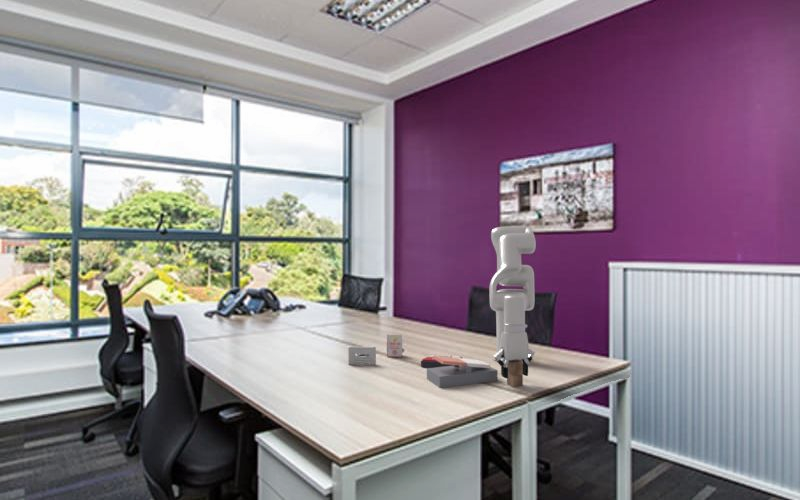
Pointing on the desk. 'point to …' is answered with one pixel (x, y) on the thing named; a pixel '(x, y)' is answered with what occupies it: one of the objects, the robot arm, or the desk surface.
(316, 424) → the desk surface
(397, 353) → the white cardboard box
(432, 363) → the calculator
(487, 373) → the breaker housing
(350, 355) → the cassette
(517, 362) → the peg
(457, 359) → the breaker rocker
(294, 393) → the desk surface
